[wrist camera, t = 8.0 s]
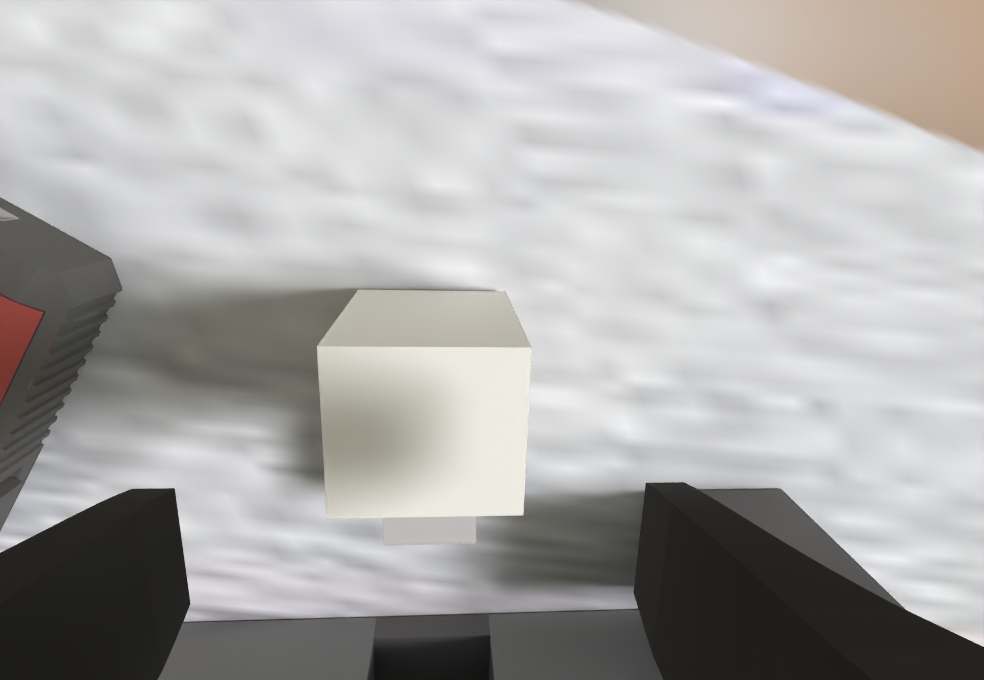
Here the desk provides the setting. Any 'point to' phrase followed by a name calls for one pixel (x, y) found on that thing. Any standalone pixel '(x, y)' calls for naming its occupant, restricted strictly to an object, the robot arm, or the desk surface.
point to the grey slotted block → (475, 630)
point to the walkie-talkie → (42, 333)
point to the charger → (425, 412)
